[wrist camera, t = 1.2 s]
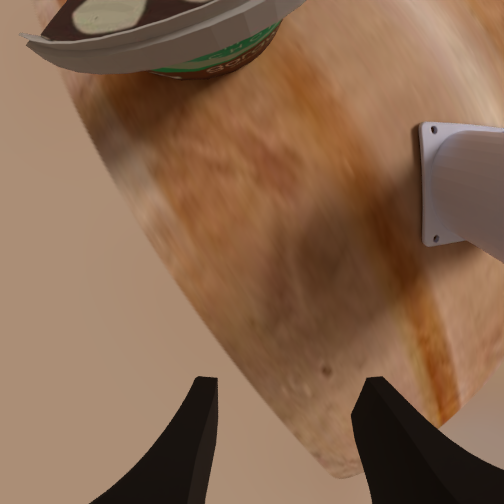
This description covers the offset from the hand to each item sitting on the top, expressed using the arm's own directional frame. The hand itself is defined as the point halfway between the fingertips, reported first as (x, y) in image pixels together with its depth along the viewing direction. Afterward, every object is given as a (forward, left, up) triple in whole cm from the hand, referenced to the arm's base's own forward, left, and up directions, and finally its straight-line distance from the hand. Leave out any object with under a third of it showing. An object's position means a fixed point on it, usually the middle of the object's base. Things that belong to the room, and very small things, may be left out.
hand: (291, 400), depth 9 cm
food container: (0, -15, -10) cm, 18 cm away
